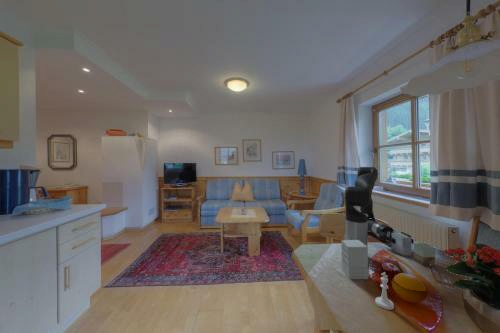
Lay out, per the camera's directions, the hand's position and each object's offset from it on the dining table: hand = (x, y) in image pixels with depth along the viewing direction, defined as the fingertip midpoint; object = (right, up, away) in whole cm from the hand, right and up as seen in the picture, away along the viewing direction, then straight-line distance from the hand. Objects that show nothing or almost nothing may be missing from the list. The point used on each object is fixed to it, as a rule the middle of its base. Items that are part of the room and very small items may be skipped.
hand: (403, 241), depth 98 cm
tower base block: (+2, -6, -9) cm, 11 cm away
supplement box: (-33, -7, -17) cm, 38 cm away
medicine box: (0, -6, +2) cm, 7 cm away
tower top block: (+2, -2, -9) cm, 10 cm away
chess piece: (-33, -7, -34) cm, 48 cm away
